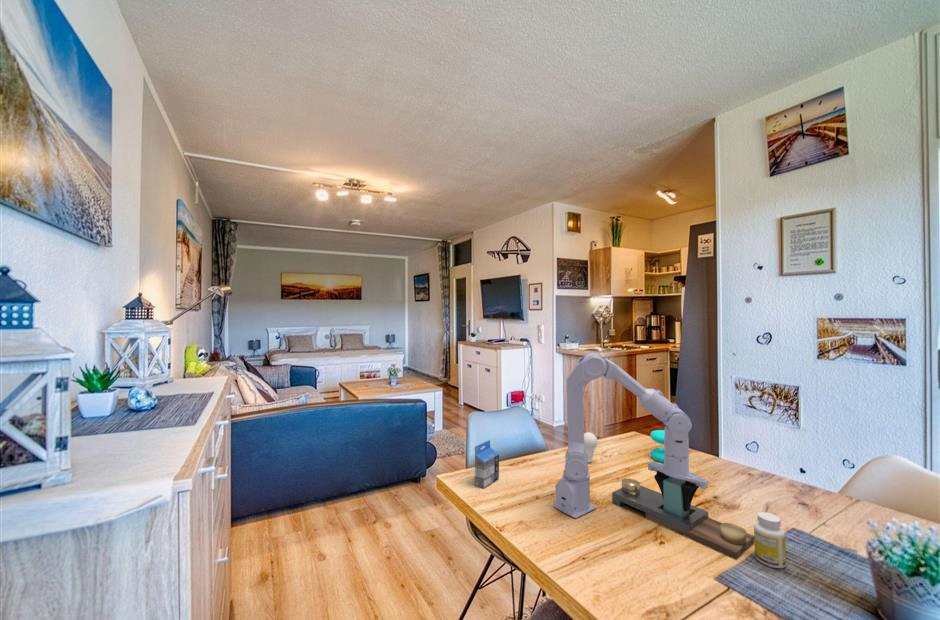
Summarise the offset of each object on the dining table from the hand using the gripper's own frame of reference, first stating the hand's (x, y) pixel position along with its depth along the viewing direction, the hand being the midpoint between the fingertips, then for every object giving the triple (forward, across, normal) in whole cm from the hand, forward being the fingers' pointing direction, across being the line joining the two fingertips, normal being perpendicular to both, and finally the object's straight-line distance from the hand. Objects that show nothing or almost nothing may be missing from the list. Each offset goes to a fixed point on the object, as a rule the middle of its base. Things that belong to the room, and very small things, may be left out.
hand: (676, 505), depth 99 cm
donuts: (+4, +23, -40) cm, 46 cm away
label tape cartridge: (+4, +47, +27) cm, 54 cm away
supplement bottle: (+4, -20, 0) cm, 20 cm away
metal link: (+4, +5, 0) cm, 6 cm away
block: (+2, 0, 0) cm, 3 cm away
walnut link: (+4, -5, 0) cm, 6 cm away
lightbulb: (+4, +38, -14) cm, 41 cm away
